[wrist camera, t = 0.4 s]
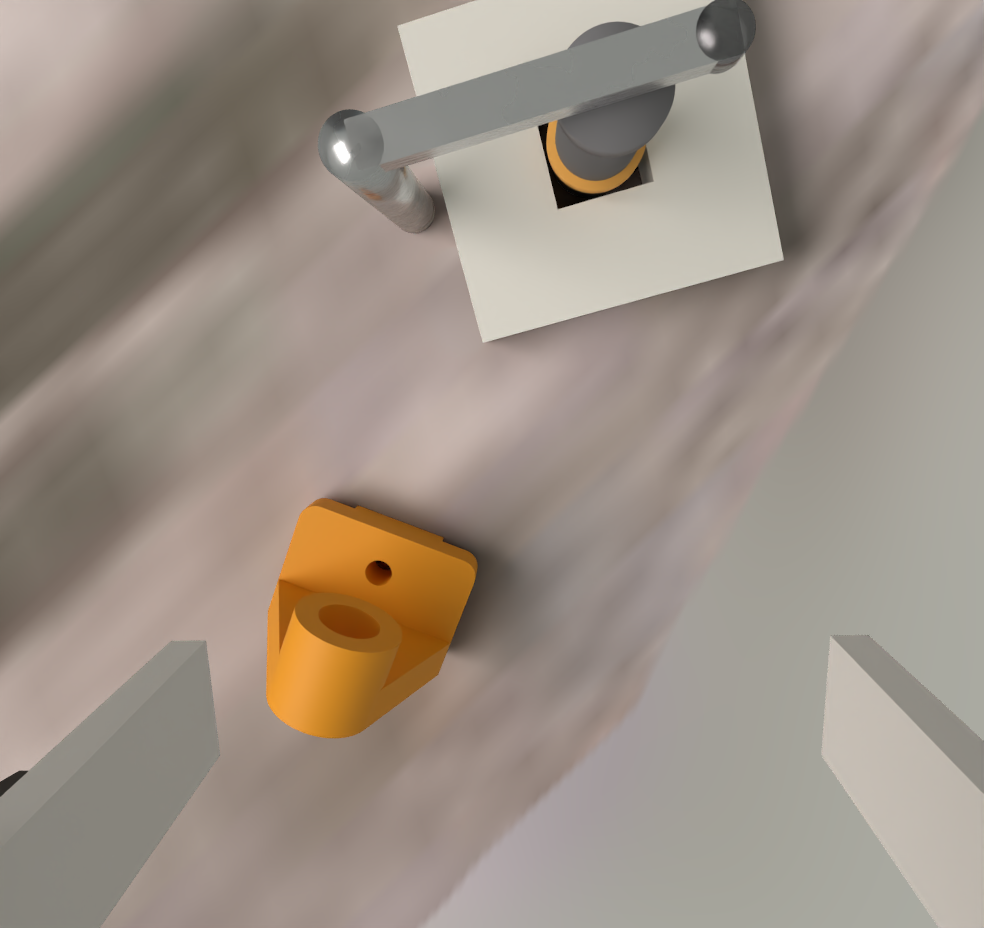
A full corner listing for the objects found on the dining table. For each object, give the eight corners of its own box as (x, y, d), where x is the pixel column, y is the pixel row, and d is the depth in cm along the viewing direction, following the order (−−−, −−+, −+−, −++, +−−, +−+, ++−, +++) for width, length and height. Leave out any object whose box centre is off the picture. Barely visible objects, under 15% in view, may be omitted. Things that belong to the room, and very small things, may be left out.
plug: (534, 126, 38) (538, 40, 26) (621, 100, 37) (663, 1, 26) (556, 216, 39) (568, 169, 27) (641, 191, 38) (690, 133, 27)
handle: (386, 194, 39) (309, 120, 25) (666, 110, 37) (748, -18, 23) (399, 238, 39) (329, 189, 25) (675, 157, 37) (762, 57, 24)
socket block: (407, 49, 37) (397, 26, 34) (703, -46, 36) (719, -80, 33) (486, 341, 40) (482, 342, 37) (764, 265, 38) (783, 260, 36)
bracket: (483, 552, 43) (466, 637, 31) (443, 653, 44) (412, 772, 32) (318, 490, 42) (237, 552, 31) (283, 594, 44) (193, 692, 32)
